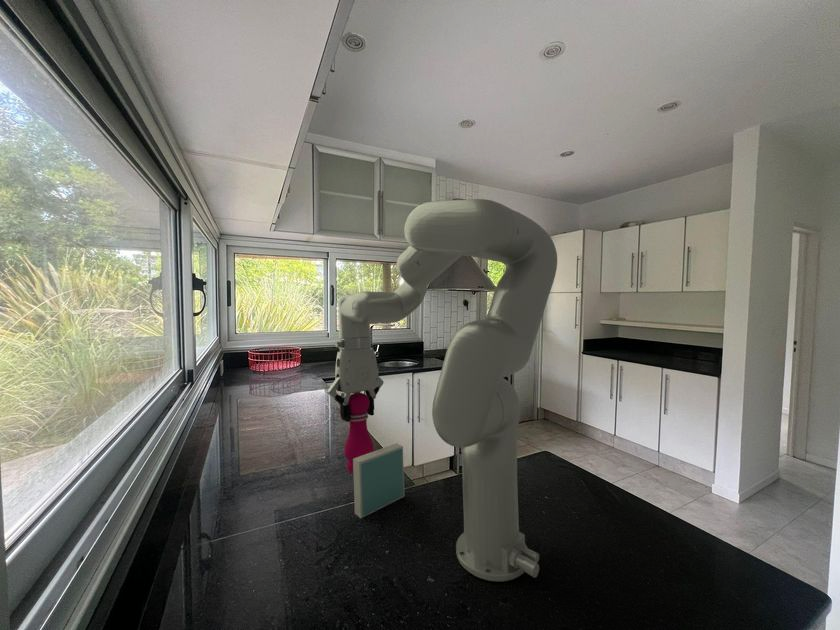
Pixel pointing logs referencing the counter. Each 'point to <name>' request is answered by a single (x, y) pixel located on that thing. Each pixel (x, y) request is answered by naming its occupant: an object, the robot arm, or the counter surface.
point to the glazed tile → (378, 479)
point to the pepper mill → (358, 429)
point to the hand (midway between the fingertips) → (358, 416)
